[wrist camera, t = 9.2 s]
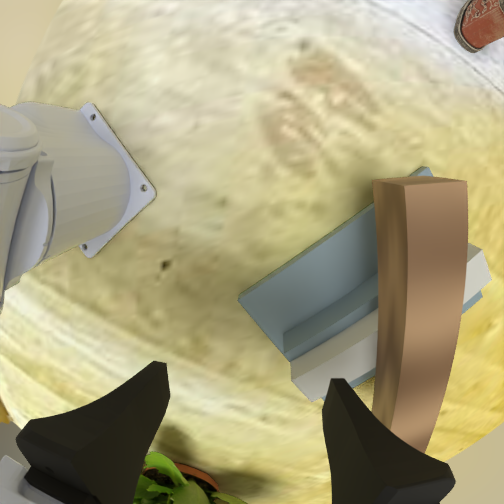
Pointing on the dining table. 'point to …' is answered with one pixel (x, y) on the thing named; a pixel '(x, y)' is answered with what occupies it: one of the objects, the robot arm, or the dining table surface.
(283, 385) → the dining table surface
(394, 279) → the walnut bar
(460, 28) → the lighter
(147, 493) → the potted flower
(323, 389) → the ridge stand
